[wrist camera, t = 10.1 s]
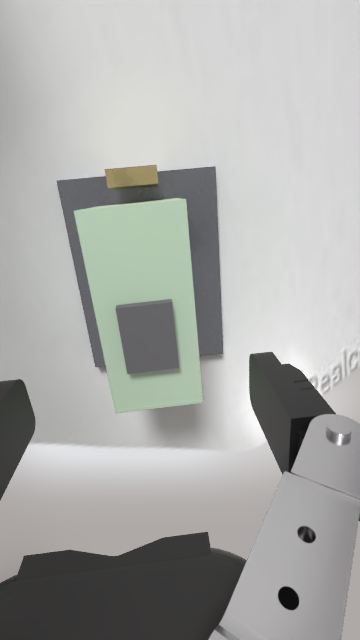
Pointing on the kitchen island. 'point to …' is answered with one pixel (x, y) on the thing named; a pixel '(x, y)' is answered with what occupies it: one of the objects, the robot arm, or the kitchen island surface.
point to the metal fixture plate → (202, 236)
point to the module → (143, 301)
